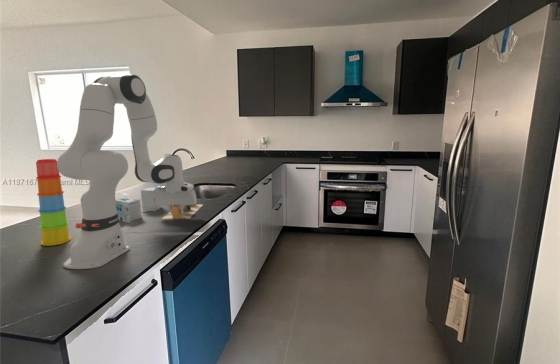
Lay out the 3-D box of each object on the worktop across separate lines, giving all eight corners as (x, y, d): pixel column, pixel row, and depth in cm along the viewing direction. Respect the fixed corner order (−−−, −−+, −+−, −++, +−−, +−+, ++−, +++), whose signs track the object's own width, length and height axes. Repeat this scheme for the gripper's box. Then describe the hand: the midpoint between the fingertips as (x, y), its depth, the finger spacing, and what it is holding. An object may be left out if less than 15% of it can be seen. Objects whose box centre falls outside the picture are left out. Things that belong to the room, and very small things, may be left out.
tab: (178, 218, 150) (177, 206, 148) (172, 218, 150) (171, 206, 149) (182, 215, 155) (181, 203, 153) (176, 215, 155) (175, 204, 153)
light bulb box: (116, 220, 152) (114, 200, 149) (128, 216, 157) (126, 196, 155) (130, 223, 147) (128, 202, 144) (142, 219, 152) (140, 199, 150)
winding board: (188, 221, 149) (187, 202, 147) (161, 221, 149) (159, 202, 147) (203, 206, 174) (202, 189, 172) (180, 206, 175) (178, 189, 173)
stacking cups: (53, 237, 131) (39, 158, 124) (76, 236, 131) (63, 158, 124) (34, 246, 121) (17, 162, 114) (59, 246, 121) (44, 161, 114)
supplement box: (154, 213, 162) (152, 190, 159) (142, 212, 164) (140, 190, 161) (162, 209, 169) (160, 187, 167) (150, 208, 171) (148, 187, 168)
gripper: (151, 188, 146) (154, 215, 149) (192, 187, 145) (194, 215, 148) (156, 185, 152) (159, 211, 155) (196, 185, 152) (198, 211, 155)
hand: (177, 213), depth 152 cm, fingers closed on tab, 3 cm apart
